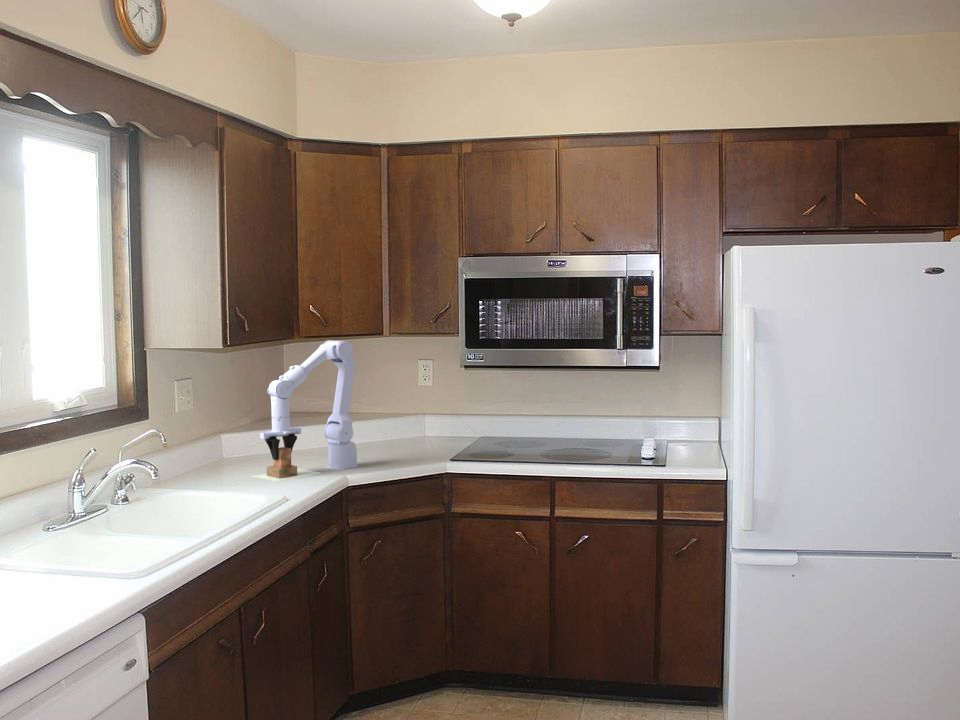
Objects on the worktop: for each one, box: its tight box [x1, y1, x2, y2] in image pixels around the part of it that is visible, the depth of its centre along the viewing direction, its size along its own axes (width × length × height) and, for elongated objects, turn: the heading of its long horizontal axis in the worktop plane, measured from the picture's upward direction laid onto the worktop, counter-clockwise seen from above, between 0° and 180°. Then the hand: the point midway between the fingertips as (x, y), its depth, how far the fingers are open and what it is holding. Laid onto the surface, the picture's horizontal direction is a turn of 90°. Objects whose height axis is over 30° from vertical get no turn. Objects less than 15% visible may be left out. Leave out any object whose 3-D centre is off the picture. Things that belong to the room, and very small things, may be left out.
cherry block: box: [273, 446, 292, 468], centre depth 269 cm, size 4×4×6 cm
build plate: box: [251, 467, 322, 483], centre depth 272 cm, size 18×14×1 cm
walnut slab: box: [265, 464, 298, 479], centre depth 270 cm, size 7×7×3 cm
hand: (281, 458), depth 270 cm, fingers open, 4 cm apart
